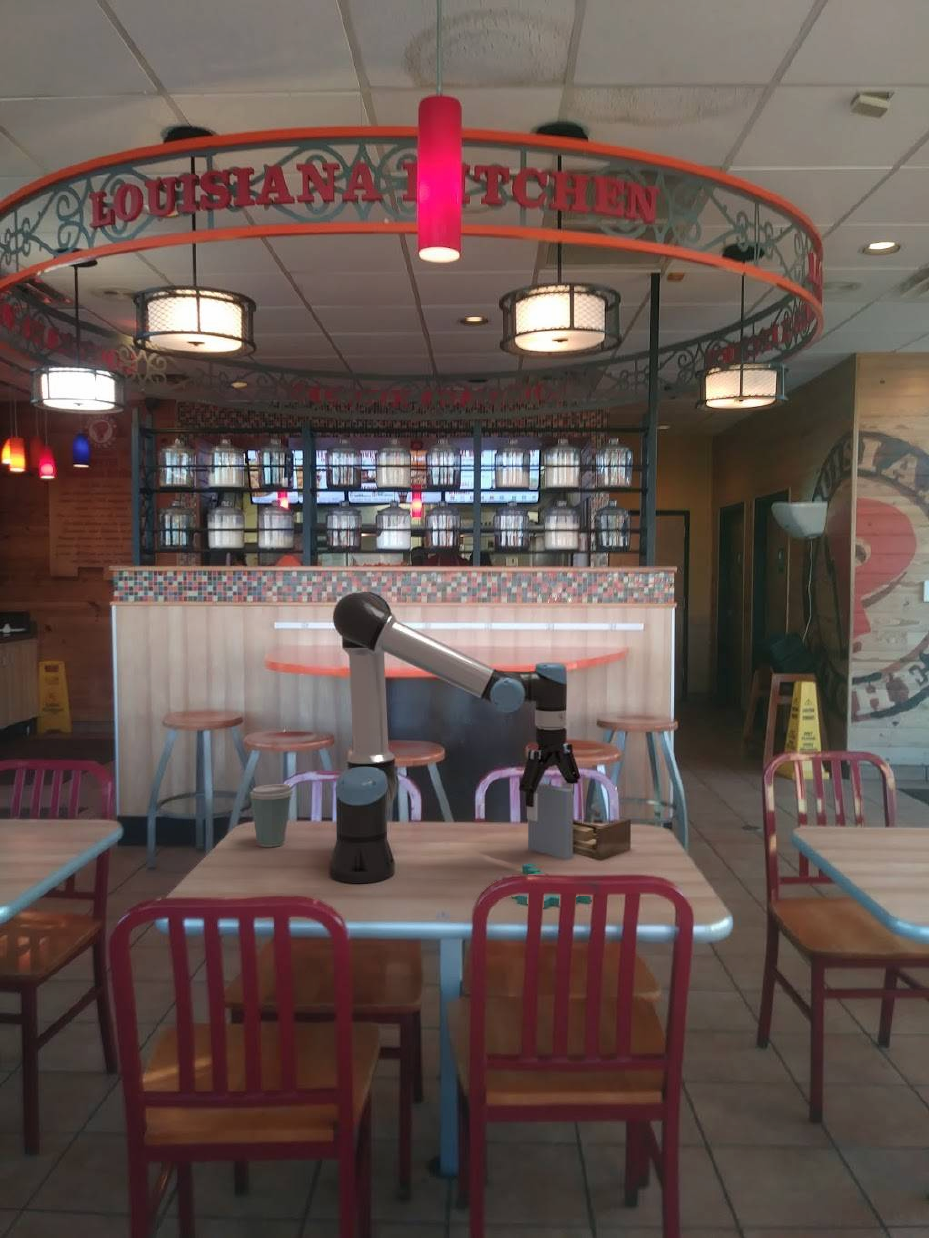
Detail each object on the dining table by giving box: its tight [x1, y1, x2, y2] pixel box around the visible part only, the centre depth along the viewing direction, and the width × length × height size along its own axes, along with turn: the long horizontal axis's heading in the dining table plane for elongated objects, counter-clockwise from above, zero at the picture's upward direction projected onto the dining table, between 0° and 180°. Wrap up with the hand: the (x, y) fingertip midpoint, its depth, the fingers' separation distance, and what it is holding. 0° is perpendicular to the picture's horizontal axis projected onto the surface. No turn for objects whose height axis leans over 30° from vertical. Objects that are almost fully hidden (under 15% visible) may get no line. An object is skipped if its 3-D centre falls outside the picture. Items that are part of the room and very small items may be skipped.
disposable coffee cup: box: [249, 783, 293, 848], centre depth 225 cm, size 11×11×15 cm
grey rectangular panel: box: [527, 782, 574, 861], centre depth 212 cm, size 12×2×17 cm, turn 44°
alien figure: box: [508, 862, 592, 910], centre depth 191 cm, size 20×2×20 cm
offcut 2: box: [573, 839, 596, 850], centre depth 217 cm, size 12×4×2 cm, turn 44°
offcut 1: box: [573, 825, 593, 842], centre depth 217 cm, size 9×3×2 cm, turn 49°
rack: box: [573, 817, 632, 861], centre depth 218 cm, size 20×12×9 cm, turn 44°
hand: (550, 814), depth 212 cm, fingers open, 13 cm apart
